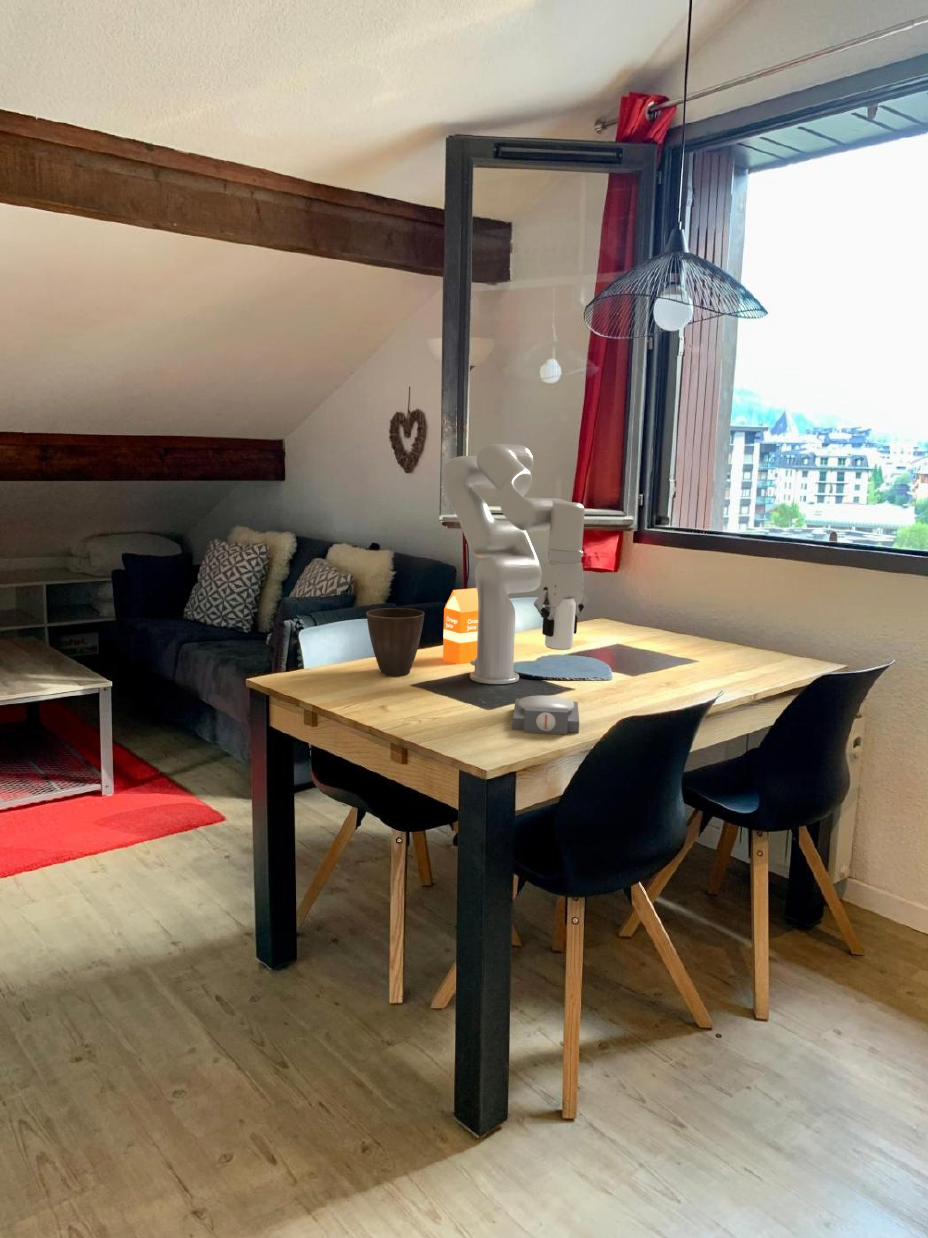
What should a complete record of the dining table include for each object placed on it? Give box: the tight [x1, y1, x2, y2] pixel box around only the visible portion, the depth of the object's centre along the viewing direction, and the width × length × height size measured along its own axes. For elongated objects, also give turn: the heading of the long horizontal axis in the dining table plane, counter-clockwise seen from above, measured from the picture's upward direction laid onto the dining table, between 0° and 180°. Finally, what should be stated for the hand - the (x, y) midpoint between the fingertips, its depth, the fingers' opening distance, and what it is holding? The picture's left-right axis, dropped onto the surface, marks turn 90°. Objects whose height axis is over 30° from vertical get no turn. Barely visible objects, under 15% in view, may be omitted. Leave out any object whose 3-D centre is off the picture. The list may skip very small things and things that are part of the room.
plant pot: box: [365, 607, 425, 677], centre depth 246 cm, size 15×15×16 cm
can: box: [544, 597, 576, 651], centre depth 218 cm, size 6×6×12 cm
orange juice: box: [442, 587, 478, 665], centre depth 263 cm, size 8×9×20 cm
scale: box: [511, 695, 580, 735], centre depth 206 cm, size 18×14×5 cm
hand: (559, 633), depth 219 cm, fingers closed on can, 6 cm apart
